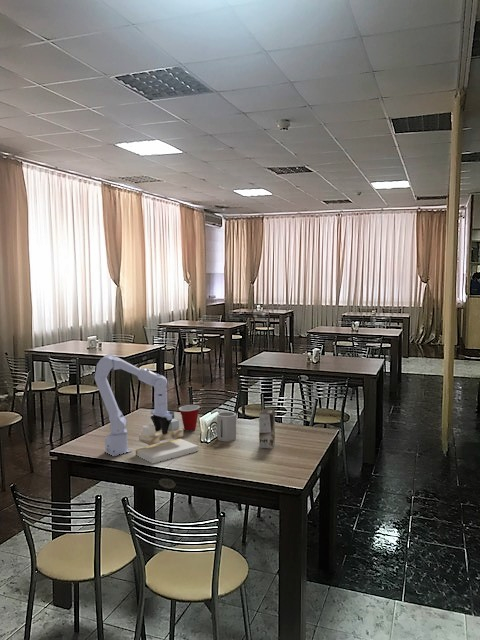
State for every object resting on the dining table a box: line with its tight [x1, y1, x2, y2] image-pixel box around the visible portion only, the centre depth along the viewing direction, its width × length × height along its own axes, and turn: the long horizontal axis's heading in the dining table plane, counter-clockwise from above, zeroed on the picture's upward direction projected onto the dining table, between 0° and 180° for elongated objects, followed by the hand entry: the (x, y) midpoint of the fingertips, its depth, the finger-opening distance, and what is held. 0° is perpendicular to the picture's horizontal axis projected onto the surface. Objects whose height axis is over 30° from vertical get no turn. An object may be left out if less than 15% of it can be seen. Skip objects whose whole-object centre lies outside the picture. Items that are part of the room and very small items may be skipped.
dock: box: [135, 438, 199, 464], centre depth 234 cm, size 24×14×2 cm, turn 132°
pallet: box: [138, 427, 184, 446], centre depth 237 cm, size 18×9×3 cm, turn 132°
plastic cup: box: [178, 404, 200, 431], centre depth 270 cm, size 11×11×12 cm
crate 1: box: [141, 424, 155, 437], centre depth 233 cm, size 4×4×4 cm
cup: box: [216, 411, 237, 442], centre depth 256 cm, size 9×9×12 cm
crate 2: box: [168, 418, 180, 431], centre depth 241 cm, size 4×4×4 cm
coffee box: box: [258, 408, 276, 449], centre depth 244 cm, size 9×6×16 cm
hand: (161, 432), depth 237 cm, fingers closed on pallet, 5 cm apart
